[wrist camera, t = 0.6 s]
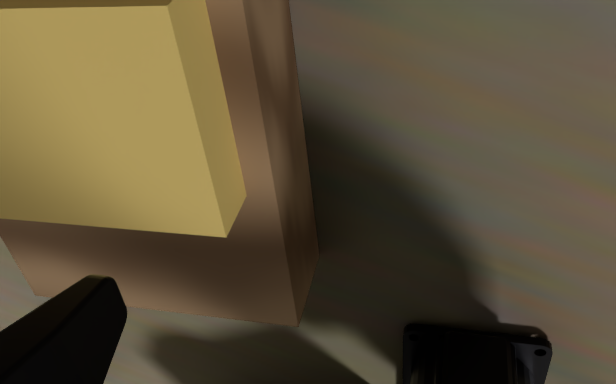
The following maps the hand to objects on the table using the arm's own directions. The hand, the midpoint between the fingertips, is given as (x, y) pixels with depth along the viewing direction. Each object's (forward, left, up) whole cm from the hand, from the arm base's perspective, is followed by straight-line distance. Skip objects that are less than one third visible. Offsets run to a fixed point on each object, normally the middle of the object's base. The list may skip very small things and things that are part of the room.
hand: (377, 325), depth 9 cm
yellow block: (-1, +9, -8) cm, 12 cm away
